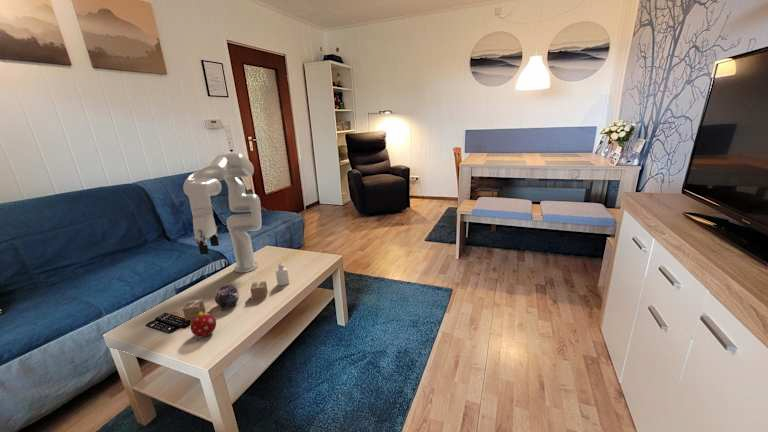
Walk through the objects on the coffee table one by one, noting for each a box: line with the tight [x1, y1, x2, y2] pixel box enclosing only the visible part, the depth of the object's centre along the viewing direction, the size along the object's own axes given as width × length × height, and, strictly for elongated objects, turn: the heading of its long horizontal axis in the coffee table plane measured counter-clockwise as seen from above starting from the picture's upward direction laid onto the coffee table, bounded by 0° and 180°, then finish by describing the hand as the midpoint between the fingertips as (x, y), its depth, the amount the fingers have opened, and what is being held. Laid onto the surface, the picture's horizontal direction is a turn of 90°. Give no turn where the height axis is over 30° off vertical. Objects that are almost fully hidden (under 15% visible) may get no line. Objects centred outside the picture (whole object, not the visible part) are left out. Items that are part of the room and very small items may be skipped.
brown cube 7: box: [182, 298, 207, 322], centre depth 133 cm, size 6×6×6 cm
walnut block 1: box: [250, 280, 268, 301], centre depth 147 cm, size 6×6×6 cm
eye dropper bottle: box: [275, 261, 290, 287], centre depth 156 cm, size 4×6×12 cm
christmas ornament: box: [190, 312, 217, 338], centre depth 120 cm, size 9×9×10 cm
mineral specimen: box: [214, 283, 240, 310], centre depth 140 cm, size 10×10×10 cm
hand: (210, 249), depth 134 cm, fingers open, 9 cm apart
